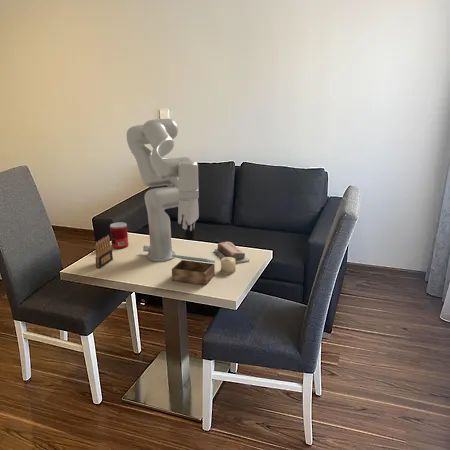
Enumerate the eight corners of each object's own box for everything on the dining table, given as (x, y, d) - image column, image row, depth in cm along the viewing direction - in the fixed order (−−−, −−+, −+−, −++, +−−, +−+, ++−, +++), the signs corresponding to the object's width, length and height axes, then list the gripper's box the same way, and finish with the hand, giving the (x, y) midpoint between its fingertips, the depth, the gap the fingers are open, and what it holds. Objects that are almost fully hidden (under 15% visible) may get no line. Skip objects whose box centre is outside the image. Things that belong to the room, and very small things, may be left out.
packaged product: (213, 242, 219) (233, 239, 223) (213, 252, 220) (233, 249, 224) (228, 255, 203) (249, 252, 207) (228, 266, 205) (249, 262, 208)
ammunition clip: (109, 259, 213) (107, 233, 209) (113, 259, 213) (110, 234, 209) (96, 268, 203) (93, 241, 200) (99, 268, 203) (97, 242, 199)
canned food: (131, 244, 230) (129, 223, 227) (121, 250, 223) (119, 228, 220) (118, 242, 233) (116, 221, 230) (108, 248, 226) (106, 226, 223)
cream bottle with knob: (219, 272, 197) (218, 261, 195) (223, 267, 202) (223, 255, 201) (232, 274, 195) (232, 262, 194) (237, 269, 201) (237, 257, 199)
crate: (172, 280, 190) (171, 269, 189) (182, 271, 199) (182, 259, 198) (205, 285, 186) (205, 273, 184) (214, 275, 195) (214, 264, 193)
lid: (172, 256, 188) (172, 254, 189) (182, 259, 198) (182, 257, 198) (206, 260, 184) (206, 258, 184) (214, 263, 193) (215, 261, 193)
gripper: (187, 188, 188) (188, 232, 194) (171, 198, 175) (173, 244, 181) (205, 190, 185) (205, 234, 192) (189, 200, 172) (191, 247, 178)
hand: (189, 239), depth 186 cm, fingers closed
